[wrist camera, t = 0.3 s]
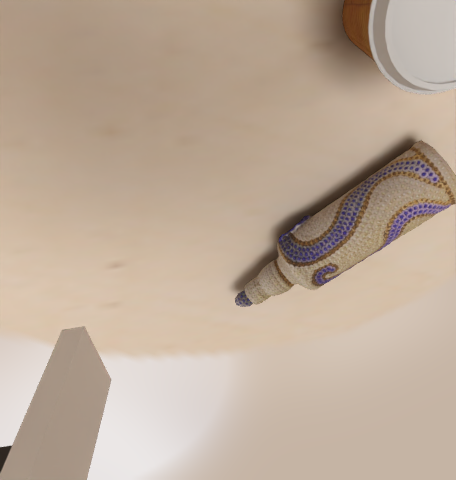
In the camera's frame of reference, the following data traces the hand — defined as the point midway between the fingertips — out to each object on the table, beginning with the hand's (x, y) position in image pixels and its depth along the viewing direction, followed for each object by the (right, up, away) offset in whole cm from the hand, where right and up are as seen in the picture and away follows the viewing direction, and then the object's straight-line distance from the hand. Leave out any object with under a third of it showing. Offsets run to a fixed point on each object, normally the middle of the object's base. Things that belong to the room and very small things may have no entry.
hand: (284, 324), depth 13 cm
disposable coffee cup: (+11, +22, +20) cm, 32 cm away
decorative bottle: (+9, +6, +30) cm, 32 cm away
